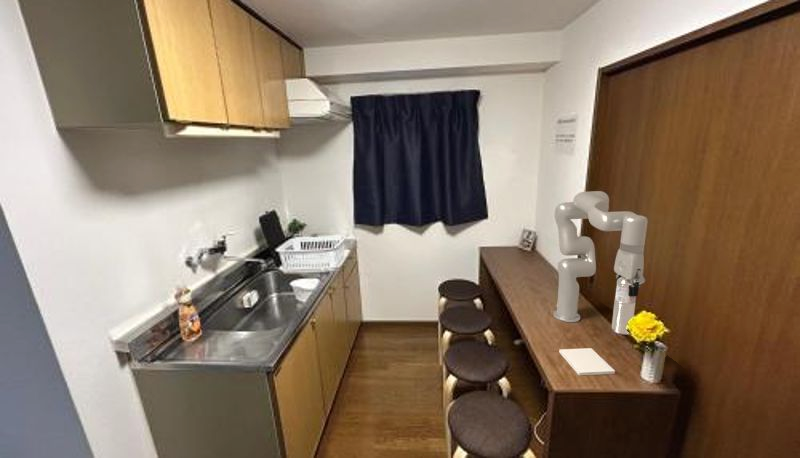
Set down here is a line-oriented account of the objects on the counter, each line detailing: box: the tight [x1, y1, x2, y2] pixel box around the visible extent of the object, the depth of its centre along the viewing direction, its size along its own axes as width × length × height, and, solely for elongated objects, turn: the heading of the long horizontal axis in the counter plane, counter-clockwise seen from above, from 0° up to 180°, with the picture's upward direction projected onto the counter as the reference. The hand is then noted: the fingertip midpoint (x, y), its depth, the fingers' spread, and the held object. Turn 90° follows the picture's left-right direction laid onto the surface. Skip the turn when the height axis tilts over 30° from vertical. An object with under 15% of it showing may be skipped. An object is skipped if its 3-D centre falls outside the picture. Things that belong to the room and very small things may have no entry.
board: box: [558, 347, 616, 376], centre depth 139 cm, size 16×14×1 cm
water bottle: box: [611, 276, 637, 335], centre depth 133 cm, size 7×7×25 cm
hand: (626, 291), depth 132 cm, fingers closed on water bottle, 6 cm apart
